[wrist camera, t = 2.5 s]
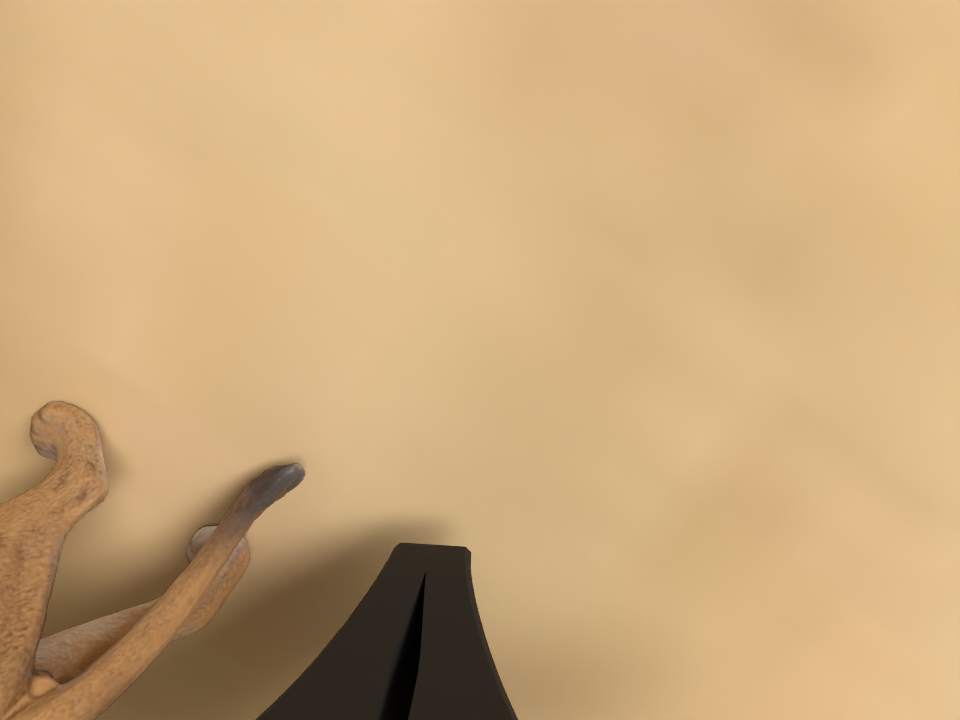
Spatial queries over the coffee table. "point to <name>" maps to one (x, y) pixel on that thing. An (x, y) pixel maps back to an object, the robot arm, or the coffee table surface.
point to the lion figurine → (113, 638)
